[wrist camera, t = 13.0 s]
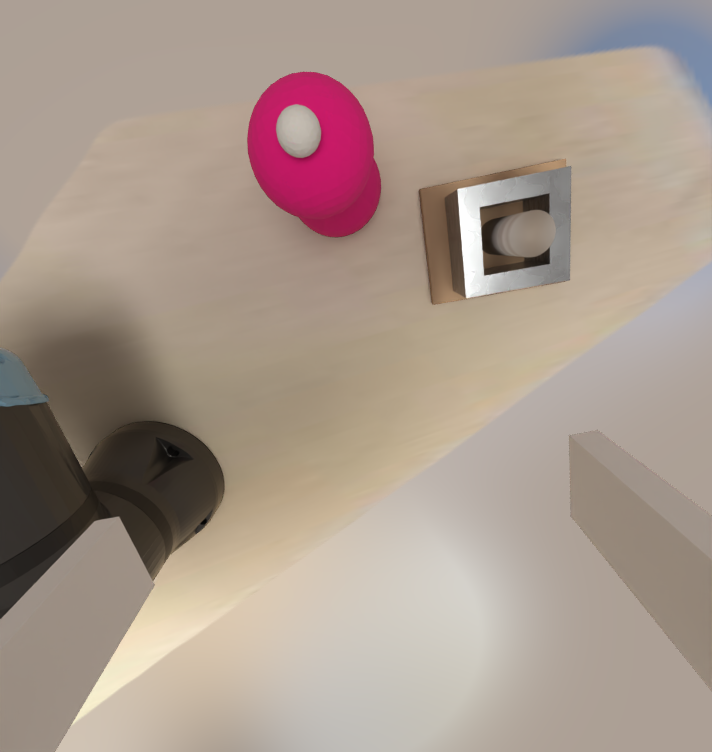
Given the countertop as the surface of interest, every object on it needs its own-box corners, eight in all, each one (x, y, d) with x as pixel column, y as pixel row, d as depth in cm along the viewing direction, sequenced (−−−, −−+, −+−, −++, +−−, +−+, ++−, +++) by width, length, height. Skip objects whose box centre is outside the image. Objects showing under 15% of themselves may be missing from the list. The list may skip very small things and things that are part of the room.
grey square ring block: (453, 290, 34) (466, 298, 29) (444, 197, 31) (457, 189, 27) (541, 275, 33) (569, 280, 28) (540, 178, 30) (571, 165, 26)
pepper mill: (358, 131, 31) (337, -48, 12) (392, 215, 33) (420, 175, 14) (284, 173, 32) (161, 71, 13) (322, 251, 34) (260, 259, 15)
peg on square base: (431, 303, 35) (450, 321, 27) (419, 190, 32) (435, 171, 24) (560, 280, 34) (622, 291, 26) (560, 161, 31) (631, 129, 22)
